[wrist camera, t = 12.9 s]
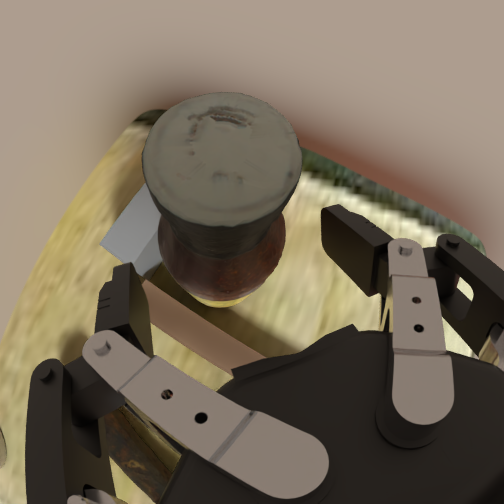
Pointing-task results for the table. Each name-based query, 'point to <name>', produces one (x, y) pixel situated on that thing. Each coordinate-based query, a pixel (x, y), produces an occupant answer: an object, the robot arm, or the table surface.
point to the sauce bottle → (221, 192)
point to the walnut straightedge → (196, 331)
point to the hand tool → (135, 456)
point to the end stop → (136, 235)
